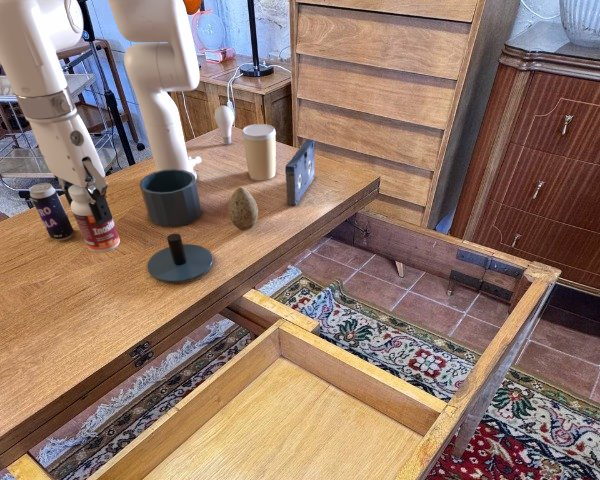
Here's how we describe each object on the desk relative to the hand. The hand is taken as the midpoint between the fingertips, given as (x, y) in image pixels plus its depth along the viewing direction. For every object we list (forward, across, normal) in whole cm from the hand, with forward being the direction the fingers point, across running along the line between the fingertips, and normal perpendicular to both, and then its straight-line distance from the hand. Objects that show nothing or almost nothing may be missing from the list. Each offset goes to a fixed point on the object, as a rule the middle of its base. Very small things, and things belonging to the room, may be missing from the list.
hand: (92, 215), depth 81 cm
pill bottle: (+6, 0, 0) cm, 6 cm away
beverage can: (+18, +32, -6) cm, 37 cm away
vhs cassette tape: (+19, -3, -60) cm, 63 cm away
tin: (+18, +16, -30) cm, 39 cm away
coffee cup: (+19, +12, -61) cm, 65 cm away
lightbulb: (+19, +36, -72) cm, 83 cm away
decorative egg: (+18, -4, -35) cm, 40 cm away
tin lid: (+17, -2, -14) cm, 23 cm away
